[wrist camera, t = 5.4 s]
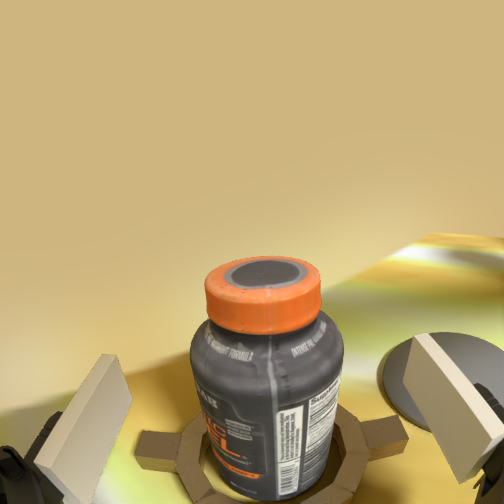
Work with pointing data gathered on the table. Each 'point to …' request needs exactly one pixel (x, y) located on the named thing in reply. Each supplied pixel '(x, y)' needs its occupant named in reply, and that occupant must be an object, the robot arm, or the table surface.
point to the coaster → (465, 358)
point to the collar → (327, 500)
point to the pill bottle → (267, 375)
